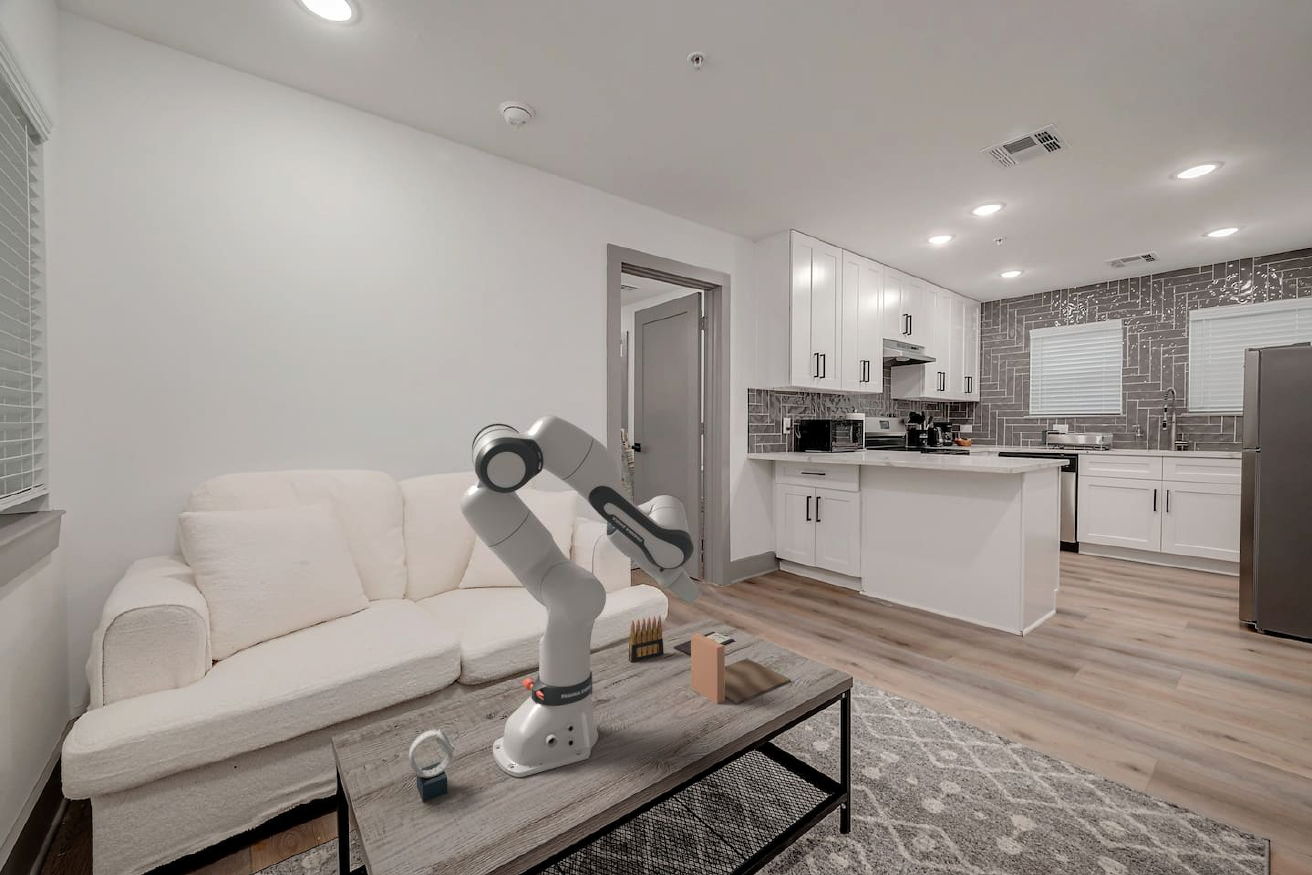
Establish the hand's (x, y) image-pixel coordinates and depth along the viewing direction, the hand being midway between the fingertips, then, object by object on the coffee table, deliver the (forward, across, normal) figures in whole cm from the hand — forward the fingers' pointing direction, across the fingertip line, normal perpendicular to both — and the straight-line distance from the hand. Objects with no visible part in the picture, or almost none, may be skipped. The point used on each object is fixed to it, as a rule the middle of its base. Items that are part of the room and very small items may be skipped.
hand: (693, 587), depth 137 cm
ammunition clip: (+21, -18, -28) cm, 39 cm away
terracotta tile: (+22, +7, -17) cm, 28 cm away
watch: (-29, +21, -58) cm, 68 cm away
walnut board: (+31, +3, -10) cm, 33 cm away
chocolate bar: (+36, -20, -15) cm, 44 cm away
